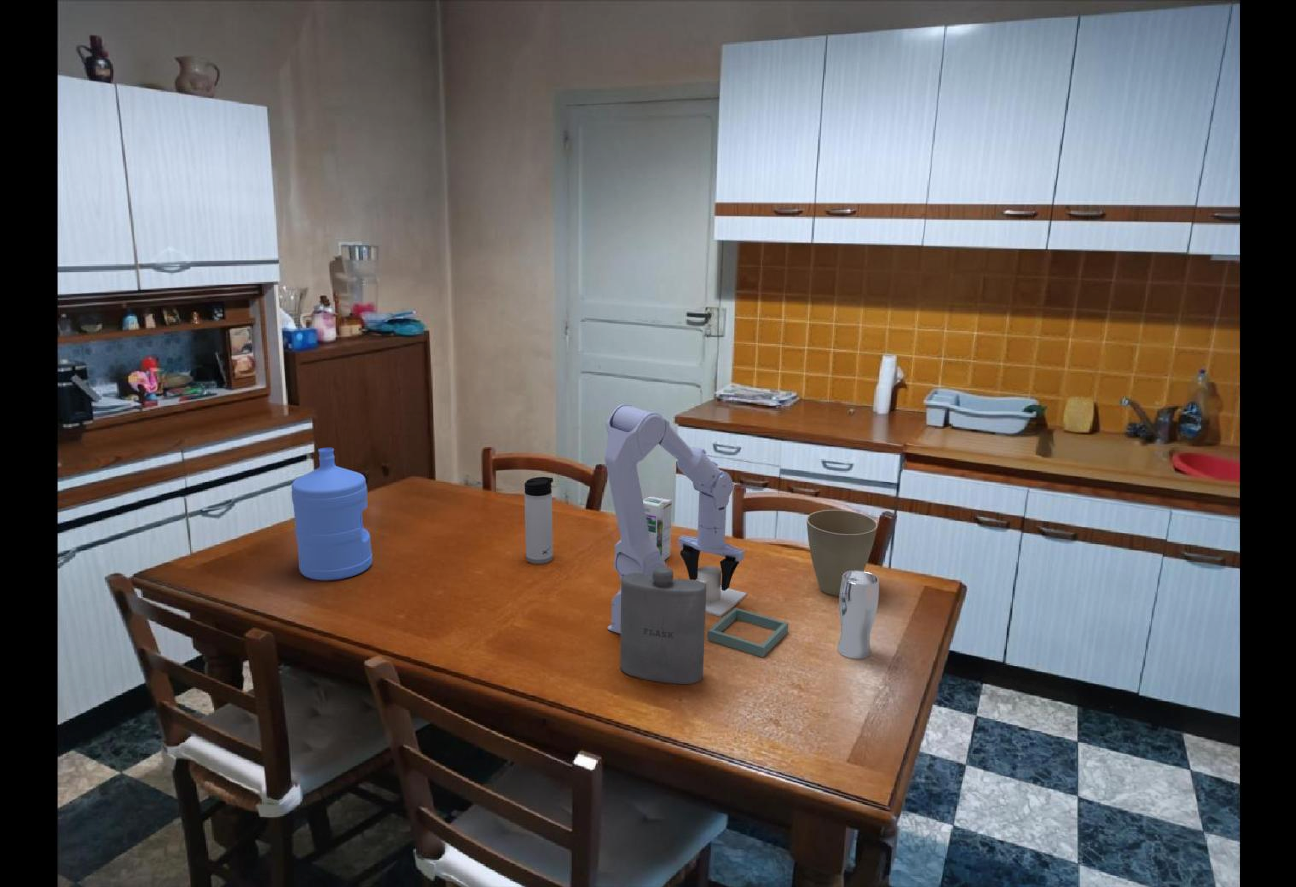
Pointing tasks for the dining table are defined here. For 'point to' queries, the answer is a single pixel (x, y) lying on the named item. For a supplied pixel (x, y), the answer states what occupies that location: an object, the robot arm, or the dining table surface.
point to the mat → (724, 602)
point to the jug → (711, 582)
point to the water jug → (331, 521)
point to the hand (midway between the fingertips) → (709, 584)
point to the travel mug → (538, 520)
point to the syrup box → (659, 523)
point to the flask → (662, 627)
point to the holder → (745, 645)
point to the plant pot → (839, 545)
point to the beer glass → (857, 612)
